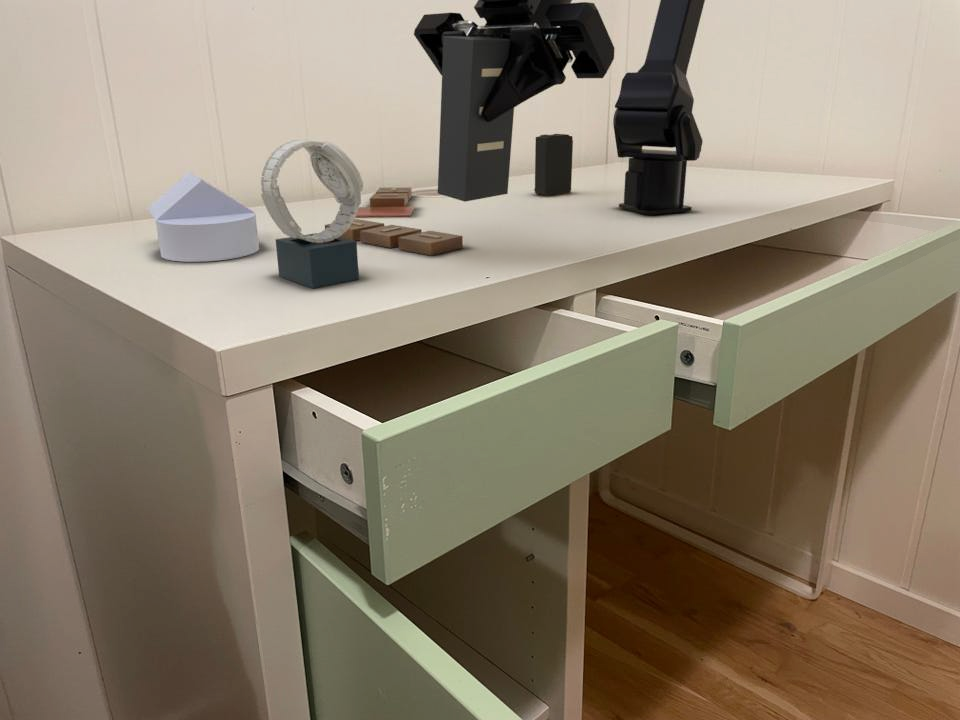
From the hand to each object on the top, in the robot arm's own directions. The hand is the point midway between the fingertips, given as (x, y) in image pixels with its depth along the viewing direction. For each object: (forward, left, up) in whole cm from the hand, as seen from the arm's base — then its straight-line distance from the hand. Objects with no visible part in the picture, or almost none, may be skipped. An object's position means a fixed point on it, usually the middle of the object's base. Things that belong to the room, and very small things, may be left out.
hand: (466, 117), depth 66 cm
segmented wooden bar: (+4, -11, -12) cm, 17 cm away
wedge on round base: (+21, -17, -12) cm, 29 cm away
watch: (+14, 0, -12) cm, 19 cm away
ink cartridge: (-27, -33, -12) cm, 44 cm away
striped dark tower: (-1, -1, -7) cm, 7 cm away
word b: (-4, -33, -12) cm, 36 cm away
